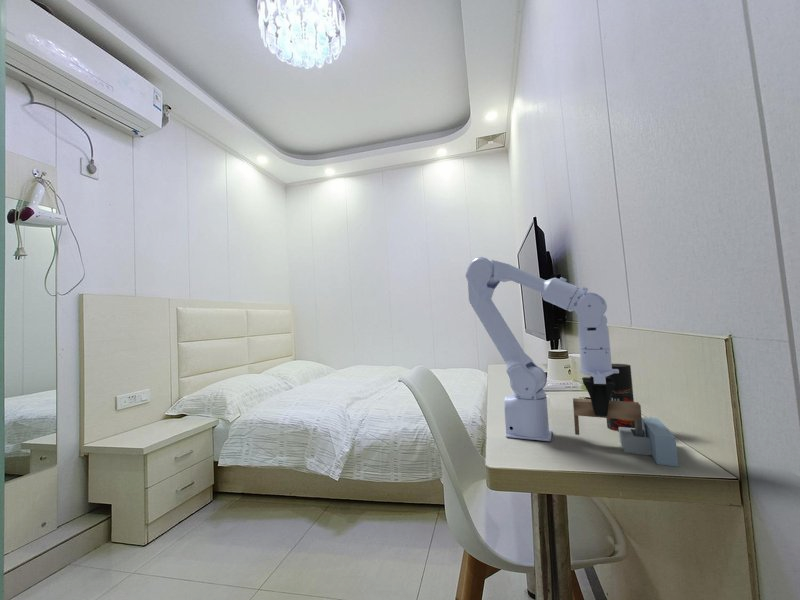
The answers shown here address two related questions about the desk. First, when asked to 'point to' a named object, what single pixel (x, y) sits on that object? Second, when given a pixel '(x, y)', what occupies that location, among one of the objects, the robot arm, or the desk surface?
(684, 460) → the desk surface
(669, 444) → the light blue holder
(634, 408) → the rail
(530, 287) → the robot arm
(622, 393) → the deodorant
